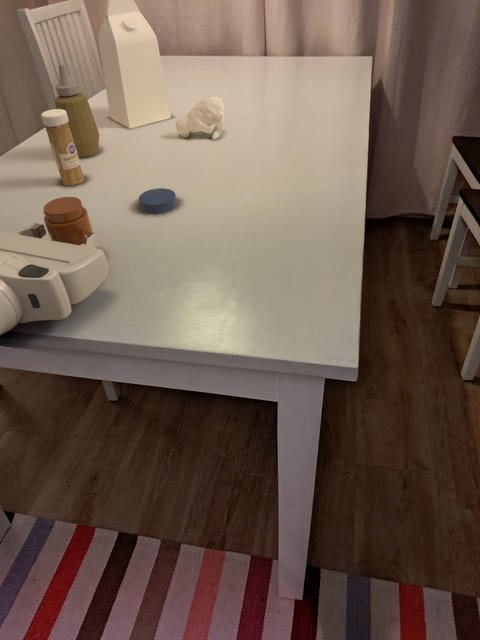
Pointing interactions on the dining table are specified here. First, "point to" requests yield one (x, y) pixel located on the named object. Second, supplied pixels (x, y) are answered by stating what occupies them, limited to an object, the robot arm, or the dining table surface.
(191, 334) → the dining table surface
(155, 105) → the milk
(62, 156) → the sprinkles bottle
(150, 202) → the lid
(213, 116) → the white lumpy piece
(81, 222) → the jar
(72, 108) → the squeeze bottle
